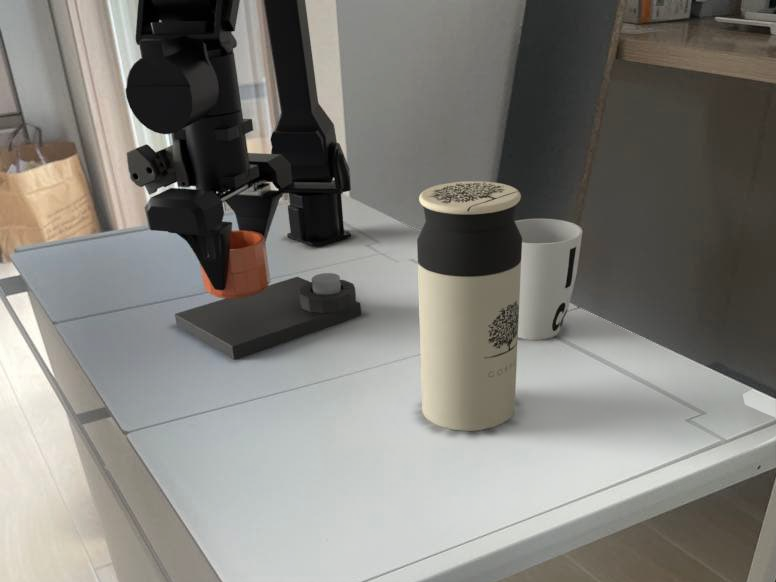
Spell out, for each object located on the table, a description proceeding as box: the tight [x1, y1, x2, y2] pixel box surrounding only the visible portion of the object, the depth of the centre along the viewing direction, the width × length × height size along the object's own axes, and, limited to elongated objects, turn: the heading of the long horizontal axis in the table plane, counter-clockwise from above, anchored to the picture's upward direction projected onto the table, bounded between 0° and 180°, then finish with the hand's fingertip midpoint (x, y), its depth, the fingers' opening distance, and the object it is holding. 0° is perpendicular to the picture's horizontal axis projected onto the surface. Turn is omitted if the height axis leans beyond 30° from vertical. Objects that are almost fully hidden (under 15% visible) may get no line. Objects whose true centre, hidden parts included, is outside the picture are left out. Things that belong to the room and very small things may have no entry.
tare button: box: [311, 272, 341, 295], centre depth 89 cm, size 3×3×2 cm
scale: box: [174, 276, 362, 360], centre depth 90 cm, size 16×12×3 cm
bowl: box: [198, 229, 271, 299], centre depth 86 cm, size 7×7×5 cm
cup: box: [514, 218, 583, 341], centre depth 83 cm, size 8×8×10 cm
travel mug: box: [416, 180, 522, 432], centre depth 67 cm, size 8×8×18 cm
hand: (237, 277), depth 87 cm, fingers closed on bowl, 7 cm apart
